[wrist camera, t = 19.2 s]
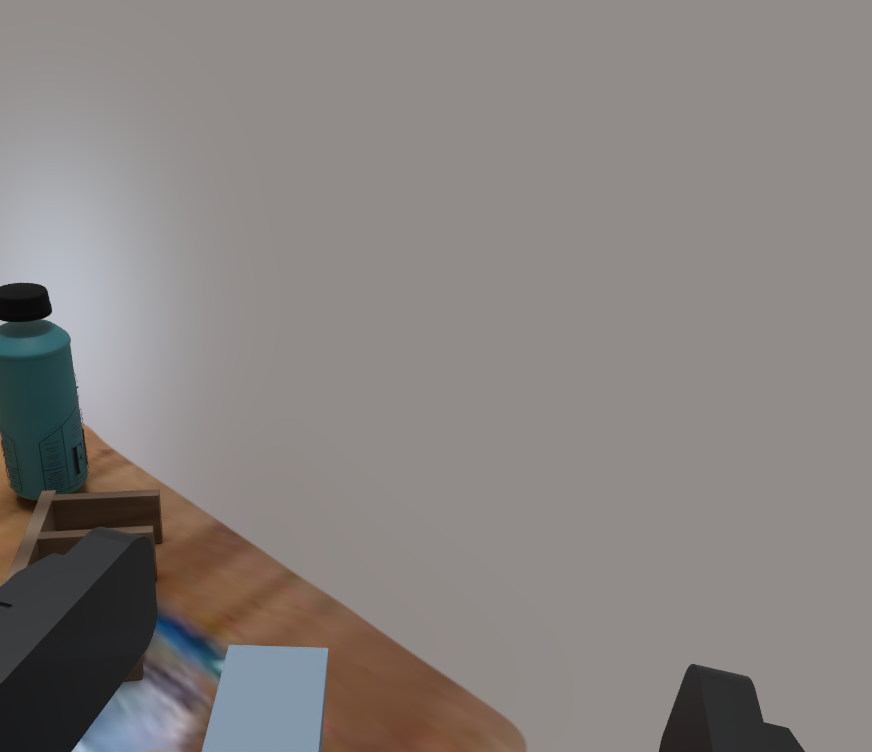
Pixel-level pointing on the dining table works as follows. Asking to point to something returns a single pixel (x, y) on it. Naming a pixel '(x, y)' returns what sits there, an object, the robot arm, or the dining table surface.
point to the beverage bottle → (38, 397)
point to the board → (269, 700)
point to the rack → (88, 526)
